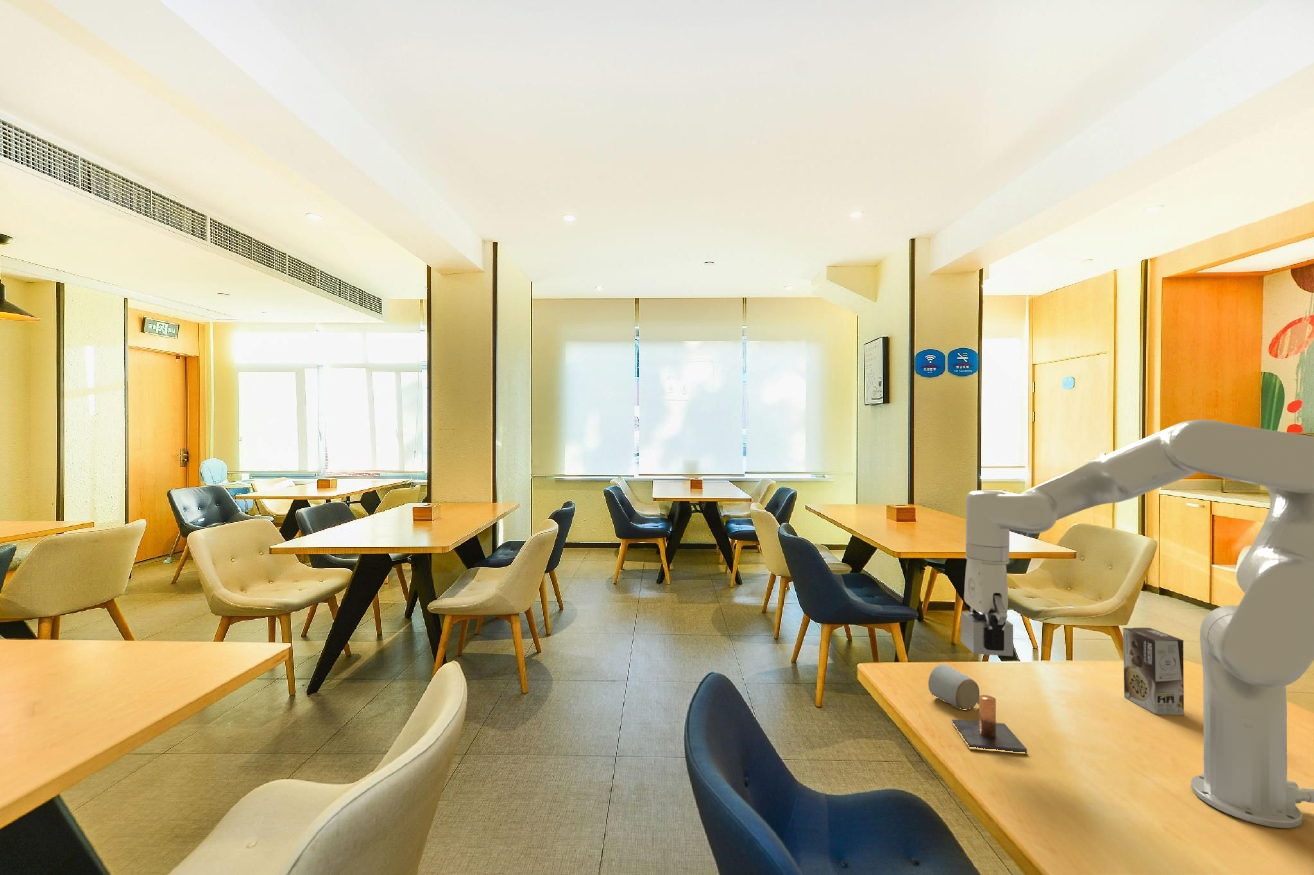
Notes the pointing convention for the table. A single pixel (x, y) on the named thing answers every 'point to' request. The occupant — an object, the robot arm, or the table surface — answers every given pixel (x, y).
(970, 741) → the post
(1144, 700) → the coffee box
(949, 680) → the ceramic mug
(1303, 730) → the table surface
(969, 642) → the grey square open box
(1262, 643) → the robot arm
